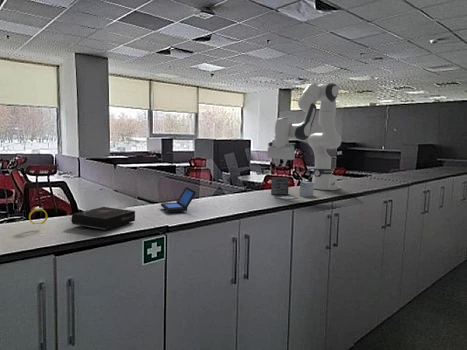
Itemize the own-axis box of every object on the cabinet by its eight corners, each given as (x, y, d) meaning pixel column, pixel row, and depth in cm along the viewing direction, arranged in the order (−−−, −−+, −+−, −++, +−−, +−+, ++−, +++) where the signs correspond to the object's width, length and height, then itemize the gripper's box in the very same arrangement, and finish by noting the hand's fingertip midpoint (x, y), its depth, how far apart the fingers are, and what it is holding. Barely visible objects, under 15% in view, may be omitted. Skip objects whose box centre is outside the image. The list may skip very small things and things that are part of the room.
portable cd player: (102, 215, 152) (102, 206, 152) (135, 220, 146) (135, 211, 145) (71, 223, 137) (71, 213, 137) (105, 229, 131) (105, 219, 130)
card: (288, 196, 216) (288, 195, 216) (299, 198, 210) (299, 197, 210) (274, 198, 209) (275, 197, 209) (285, 200, 202) (285, 199, 202)
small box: (287, 194, 227) (288, 177, 226) (288, 195, 220) (289, 178, 219) (271, 193, 228) (271, 176, 227) (271, 194, 221) (271, 178, 220)
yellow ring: (29, 225, 131) (29, 209, 130) (28, 224, 133) (28, 208, 133) (48, 223, 135) (47, 208, 134) (46, 222, 137) (46, 206, 136)
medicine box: (307, 195, 223) (308, 181, 222) (313, 196, 220) (314, 182, 219) (299, 196, 218) (299, 182, 217) (305, 197, 215) (305, 183, 214)
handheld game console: (160, 206, 176) (160, 187, 175) (186, 204, 182) (186, 186, 181) (168, 212, 162) (168, 192, 161) (196, 210, 168) (196, 191, 167)
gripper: (297, 144, 215) (296, 167, 216) (273, 143, 230) (272, 165, 232) (290, 144, 211) (289, 167, 212) (266, 143, 226) (265, 165, 228)
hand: (280, 166), depth 222 cm, fingers open, 4 cm apart
